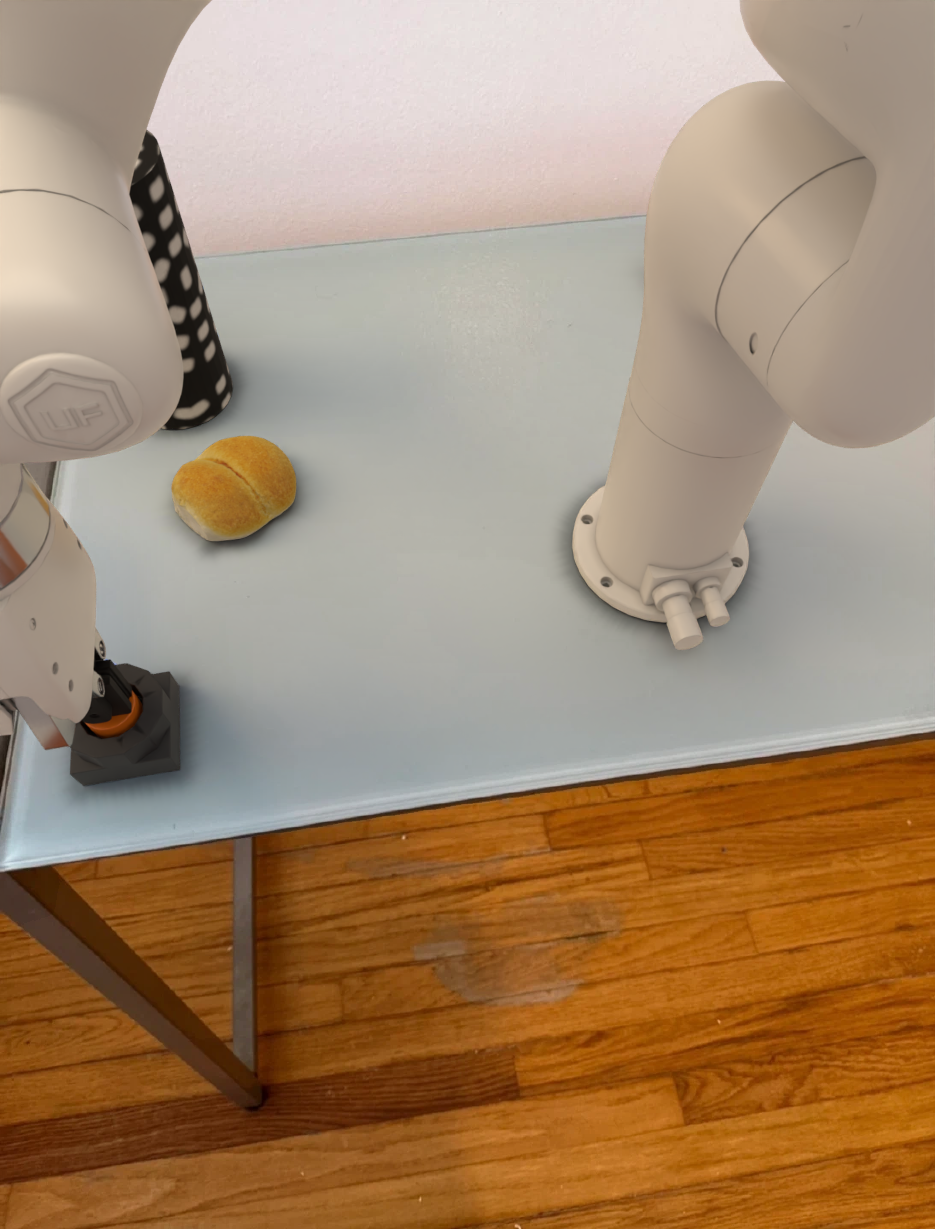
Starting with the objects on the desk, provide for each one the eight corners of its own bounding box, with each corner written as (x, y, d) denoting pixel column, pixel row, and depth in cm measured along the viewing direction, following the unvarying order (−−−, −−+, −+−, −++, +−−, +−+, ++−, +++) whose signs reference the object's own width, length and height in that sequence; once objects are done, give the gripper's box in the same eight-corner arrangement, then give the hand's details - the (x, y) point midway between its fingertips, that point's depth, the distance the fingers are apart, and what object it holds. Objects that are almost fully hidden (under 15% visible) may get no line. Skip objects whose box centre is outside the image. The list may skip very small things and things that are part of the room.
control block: (181, 770, 54) (162, 747, 51) (82, 787, 54) (56, 764, 50) (180, 684, 57) (162, 657, 54) (86, 699, 57) (61, 672, 53)
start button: (143, 736, 52) (134, 724, 51) (90, 745, 52) (78, 733, 51) (144, 689, 54) (135, 677, 52) (92, 697, 54) (81, 685, 52)
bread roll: (319, 492, 66) (311, 457, 62) (226, 563, 62) (212, 530, 59) (249, 435, 68) (238, 399, 65) (157, 500, 65) (140, 465, 62)
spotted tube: (249, 368, 72) (183, 132, 55) (204, 440, 68) (117, 210, 51) (160, 346, 73) (67, 109, 56) (111, 416, 69) (-5, 183, 52)
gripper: (-118, 402, 39) (49, 609, 55) (-183, 698, 32) (32, 838, 47) (52, 382, 40) (169, 591, 56) (28, 666, 32) (170, 815, 48)
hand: (106, 705), depth 52 cm, fingers closed
